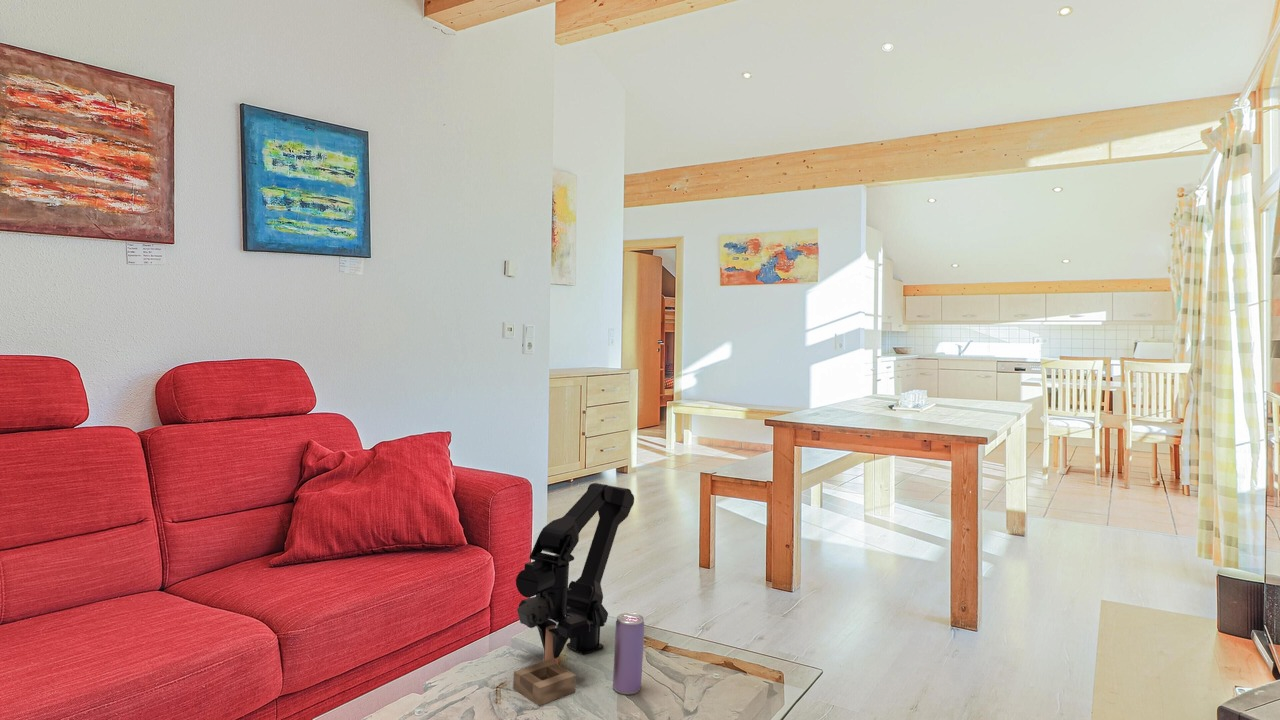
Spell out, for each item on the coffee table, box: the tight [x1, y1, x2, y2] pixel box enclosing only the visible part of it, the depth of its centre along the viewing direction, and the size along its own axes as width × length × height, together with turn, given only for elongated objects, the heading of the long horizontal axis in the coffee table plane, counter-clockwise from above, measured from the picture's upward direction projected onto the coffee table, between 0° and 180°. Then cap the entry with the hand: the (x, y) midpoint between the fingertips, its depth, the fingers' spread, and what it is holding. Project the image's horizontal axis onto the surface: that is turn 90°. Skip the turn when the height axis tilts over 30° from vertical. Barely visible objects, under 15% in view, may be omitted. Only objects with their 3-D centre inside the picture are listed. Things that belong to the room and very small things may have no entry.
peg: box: [543, 625, 559, 665], centre depth 159 cm, size 3×3×9 cm
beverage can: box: [612, 612, 645, 696], centre depth 151 cm, size 6×6×15 cm
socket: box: [512, 660, 576, 706], centre depth 149 cm, size 9×9×4 cm
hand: (551, 654), depth 159 cm, fingers closed on peg, 3 cm apart
